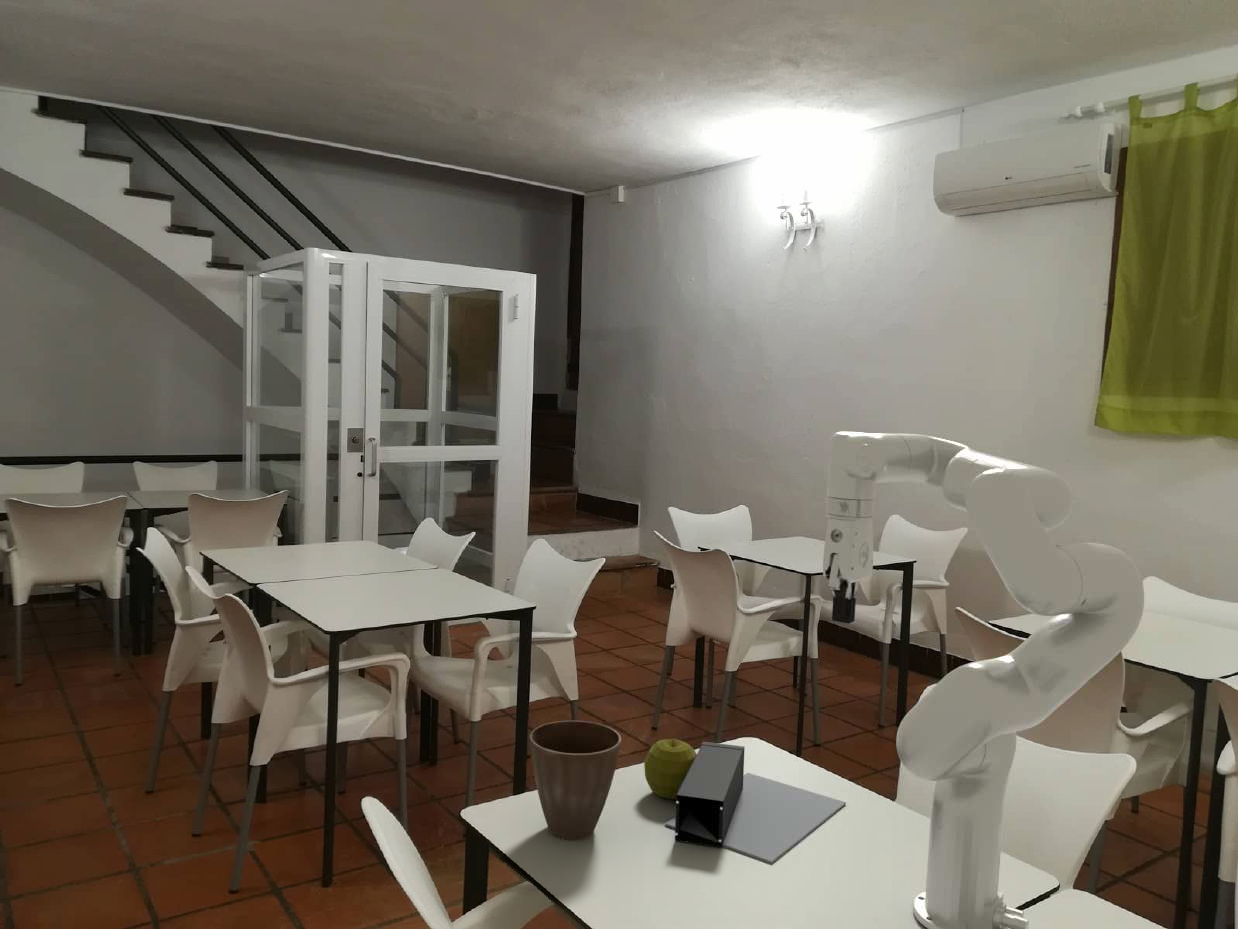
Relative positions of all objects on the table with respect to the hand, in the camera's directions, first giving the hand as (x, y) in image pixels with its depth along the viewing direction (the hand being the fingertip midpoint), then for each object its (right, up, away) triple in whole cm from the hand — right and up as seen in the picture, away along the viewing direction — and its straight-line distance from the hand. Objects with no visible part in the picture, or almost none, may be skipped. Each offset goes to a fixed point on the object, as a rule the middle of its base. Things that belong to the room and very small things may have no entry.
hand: (843, 621), depth 156 cm
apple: (-27, -35, +19) cm, 48 cm away
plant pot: (-44, -35, +3) cm, 57 cm away
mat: (-12, -36, +12) cm, 40 cm away
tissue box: (-23, -32, -1) cm, 40 cm away
